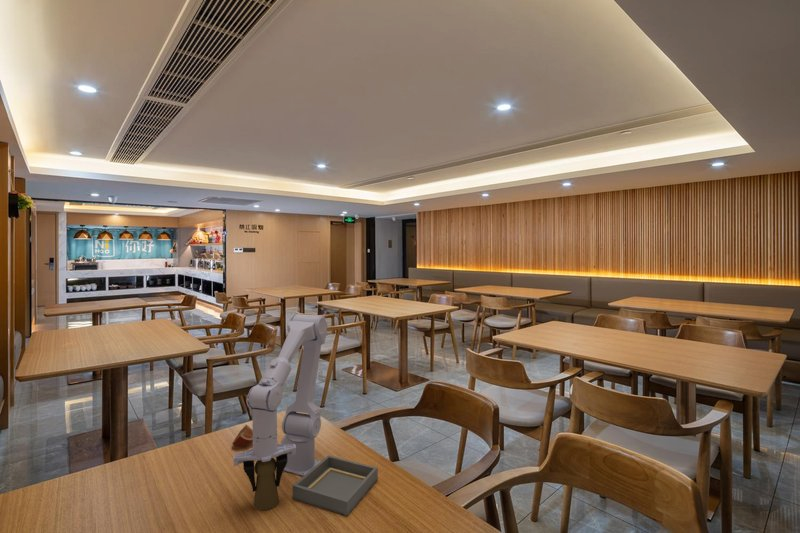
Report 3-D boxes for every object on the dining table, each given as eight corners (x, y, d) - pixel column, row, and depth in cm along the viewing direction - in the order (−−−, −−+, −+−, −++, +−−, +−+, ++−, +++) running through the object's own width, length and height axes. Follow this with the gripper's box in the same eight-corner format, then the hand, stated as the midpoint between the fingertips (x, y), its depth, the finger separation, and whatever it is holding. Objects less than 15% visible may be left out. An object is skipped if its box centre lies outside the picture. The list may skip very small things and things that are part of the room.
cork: (271, 511, 97) (270, 467, 96) (248, 508, 98) (247, 464, 97) (283, 496, 103) (282, 454, 102) (261, 493, 104) (260, 452, 103)
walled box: (292, 498, 102) (292, 485, 102) (328, 466, 116) (328, 455, 116) (347, 516, 95) (347, 502, 95) (377, 480, 110) (377, 467, 110)
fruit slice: (237, 439, 133) (236, 424, 133) (258, 437, 134) (257, 423, 133) (229, 452, 125) (229, 436, 124) (251, 450, 125) (251, 435, 125)
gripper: (232, 446, 93) (234, 503, 94) (297, 435, 98) (297, 489, 99) (233, 432, 99) (234, 486, 100) (293, 423, 105) (294, 473, 105)
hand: (266, 486), depth 100 cm, fingers closed on cork, 5 cm apart
